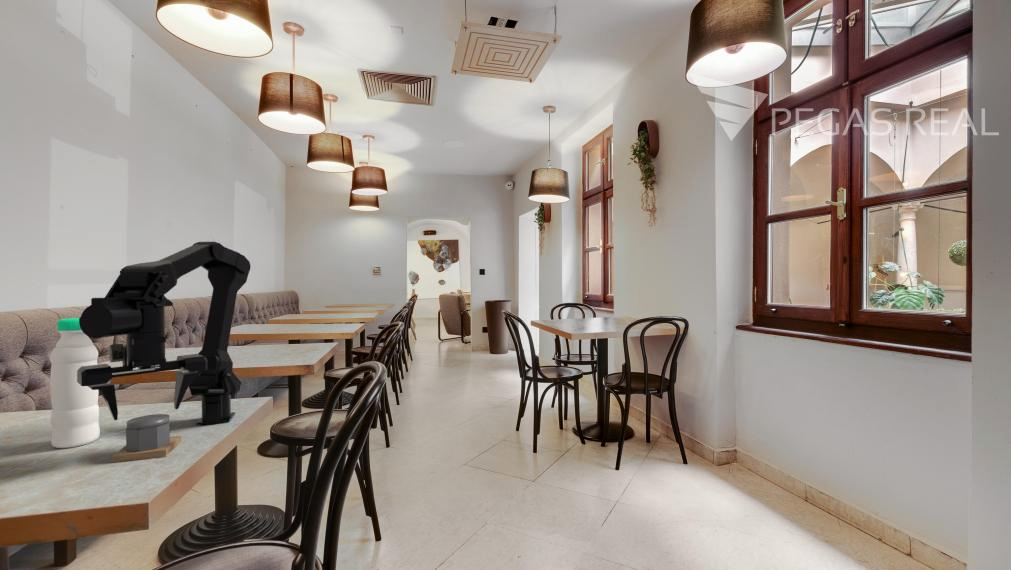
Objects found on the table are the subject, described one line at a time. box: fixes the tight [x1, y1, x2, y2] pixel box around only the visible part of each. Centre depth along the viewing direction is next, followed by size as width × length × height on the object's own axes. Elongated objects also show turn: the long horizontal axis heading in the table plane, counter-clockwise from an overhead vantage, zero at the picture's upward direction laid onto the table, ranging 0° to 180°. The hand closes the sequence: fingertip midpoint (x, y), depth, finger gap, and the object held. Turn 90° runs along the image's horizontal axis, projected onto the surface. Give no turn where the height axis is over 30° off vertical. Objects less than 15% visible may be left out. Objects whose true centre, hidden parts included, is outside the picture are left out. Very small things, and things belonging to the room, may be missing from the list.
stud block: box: [112, 435, 182, 463], centre depth 86 cm, size 8×8×5 cm
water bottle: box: [49, 317, 101, 449], centre depth 91 cm, size 7×7×25 cm
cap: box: [125, 413, 171, 452], centre depth 86 cm, size 6×6×5 cm
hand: (147, 414), depth 86 cm, fingers open, 9 cm apart
